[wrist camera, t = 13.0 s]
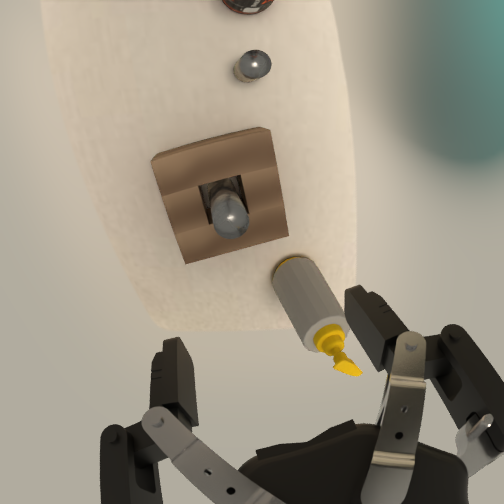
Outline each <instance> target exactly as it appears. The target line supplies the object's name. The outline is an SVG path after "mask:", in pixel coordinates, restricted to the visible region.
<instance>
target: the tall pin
mask: <svg viewBox="0 0 504 504" xmlns="http://www.w3.org/2000/svg"><path fill="white" fill-rule="evenodd" d="M207 189H208V196H209V201H210V207H211V213H212V219H213V225H214V229H215V231H216V232H217V234H218V235H220V236H221V237H223V238H226V239H235V238H238V237H240V236H242V235H243V234H244V233H245V232H246V231H247V229H248V227H249V216H248V214H247V212H246V210H245V208H244V206H243V204H242V202H241V200H240V198H239V196H238V194H237V192H236V190H235V188H234V186H233V184H232V182H231V180H230V179H229V178H225V179H221V180H217V181H214V182H210V183H208V186H207Z"/></svg>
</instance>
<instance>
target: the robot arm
mask: <svg viewBox="0 0 504 504" xmlns="http://www.w3.org/2000/svg"><path fill="white" fill-rule="evenodd" d="M344 313H345V318H346V321H347V323H348V325H349V326H350V328H351V330H352V331H353V333H354V334H355V336H356V338H357V339H358V341H359V342H360V344H361V346H362V347H363V349H364V350H365V352H366V353H367V355H368V357H369V358H370V360H371V362H372V363H373V365H374V367H375V368H376V370H377V371H378V372H379V371H382V370H384V369H385V370H386V371H387V373H388V375H387V379H386V384H385V388H384V393H383V398H382V402H381V406H380V410H379V413H378V417H377V420H376V423H375V424H365V423H363V424H355V423H354V421H353V419H352V420H350V421H347V422H344V423H342V424H339V425H337V426H334V427H331V428H329V429H328V430H326V431H325V432H323V433H321V434H320V435H318V436H316V437H315V438H313V439H312V440H310V441H308V442H303V443H287V444H278V445H274V446H270V447H266V448H262V449H258V450H256V454H257V456H255V457H253V458H251V459H249V460H248V461H247V462H245V463H244V464H243V465H242V466H241V467H240V468H239V469H238V470H236V469H235V468H233V467H232V466H231V465H230V464H228V463H227V462H226V461H225V460H223V459H222V458H221V457H220V456H218V455H217V454H216V453H215V452H214V451H212V450H211V449H210V448H209V447H208V446H207V445H205V444H204V443H203V442H202V441H201V440H199V439H198V438H197V437H196V436H195V435H194V434H193V433H192V427H194V426H198V425H199V423H198V413H197V402H196V391H195V377H194V366H193V362H192V359H191V357H190V355H189V353H188V351H187V349H186V348H185V346H184V344H183V342H182V340H181V339H180V337H175V338H171V339H167V340H164V341H163V352H158V353H156V355H155V357H154V359H153V361H152V368H151V372H152V373H151V384H150V407H149V410H148V411H147V412H146V413H145V414H144V415H143V418H142V420H141V421H140V422H138V423H136V424H134V425H131V426H129V427H126V428H123V427H122V426H120V425H117V424H114V425H110V426H108V427H107V428H105V429H104V431H103V432H102V434H101V440H100V489H101V490H100V491H101V504H163V500H162V493H161V486H160V478H159V470H158V462H159V461H161V460H163V459H166V458H168V457H169V458H170V459H171V462H172V464H173V465H174V466H175V467H176V468H177V469H178V470H179V471H180V472H181V473H182V474H183V475H184V476H185V477H186V478H187V479H188V480H189V481H190V482H191V483H192V484H193V485H194V486H195V487H197V488H198V489H199V490H200V491H201V492H202V493H203V494H204V495H205V496H207V497H208V498H209V499H210V500H211V501H212V502H214V503H215V504H469V502H468V493H467V491H468V478H469V477H471V476H472V475H474V474H475V473H476V472H478V471H479V470H480V469H482V468H483V467H485V466H486V465H488V464H490V463H491V462H493V461H495V460H496V459H497V458H499V457H500V456H502V455H503V454H504V382H503V381H502V379H501V378H500V376H499V375H498V374H497V372H496V371H495V369H494V368H493V366H492V365H491V364H490V362H489V361H488V359H487V358H486V357H485V355H484V354H483V353H482V351H481V350H480V349H479V347H478V346H477V345H476V344H475V342H474V341H473V340H472V338H471V337H470V336H469V335H468V334H467V332H466V331H465V330H464V329H463V328H462V327H460V326H459V325H455V324H450V325H447V326H445V327H444V328H443V329H442V331H441V334H438V335H433V336H426V337H423V336H422V335H421V334H419V333H417V332H414V331H409V330H408V329H407V327H406V326H405V325H404V324H403V322H402V321H401V320H400V318H399V317H398V316H397V315H396V314H395V312H394V311H393V310H392V309H391V308H390V306H389V305H387V303H386V302H385V300H384V299H383V298H382V297H381V296H380V295H378V294H376V293H374V292H369V293H367V292H366V291H365V289H364V288H363V287H362V286H361V285H357V286H354V287H351V288H348V289H346V290H345V308H344ZM425 379H430V380H431V382H432V383H433V385H434V387H435V388H436V390H437V392H438V393H439V395H440V397H441V399H442V400H443V402H444V404H445V406H446V407H447V409H448V411H449V413H450V415H451V416H452V418H453V420H454V422H455V424H456V426H457V428H458V429H459V431H458V432H457V435H456V446H457V449H458V452H457V456H456V455H453V454H451V453H448V452H445V451H442V450H439V449H437V448H434V447H431V446H428V445H425V444H423V443H420V442H418V438H419V432H420V427H421V421H422V415H423V407H424V400H425V392H426V382H424V380H425Z"/></svg>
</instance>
